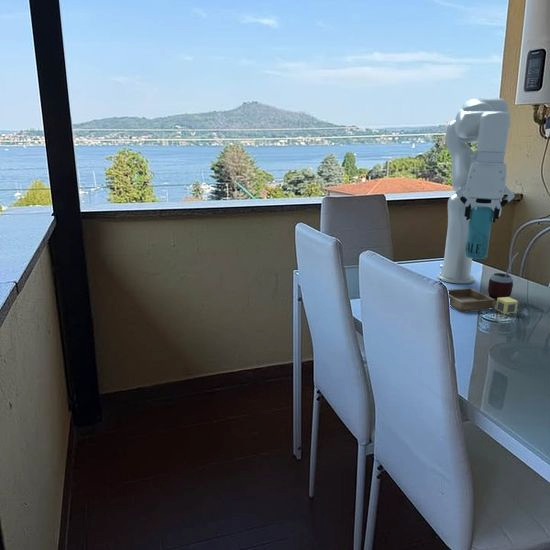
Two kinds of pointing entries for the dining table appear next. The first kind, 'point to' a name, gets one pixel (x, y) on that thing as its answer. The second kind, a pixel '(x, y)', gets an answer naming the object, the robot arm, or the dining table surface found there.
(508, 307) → the pale yellow cube
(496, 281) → the mate gourd
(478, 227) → the beverage bottle
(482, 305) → the tray
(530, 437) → the dining table surface
